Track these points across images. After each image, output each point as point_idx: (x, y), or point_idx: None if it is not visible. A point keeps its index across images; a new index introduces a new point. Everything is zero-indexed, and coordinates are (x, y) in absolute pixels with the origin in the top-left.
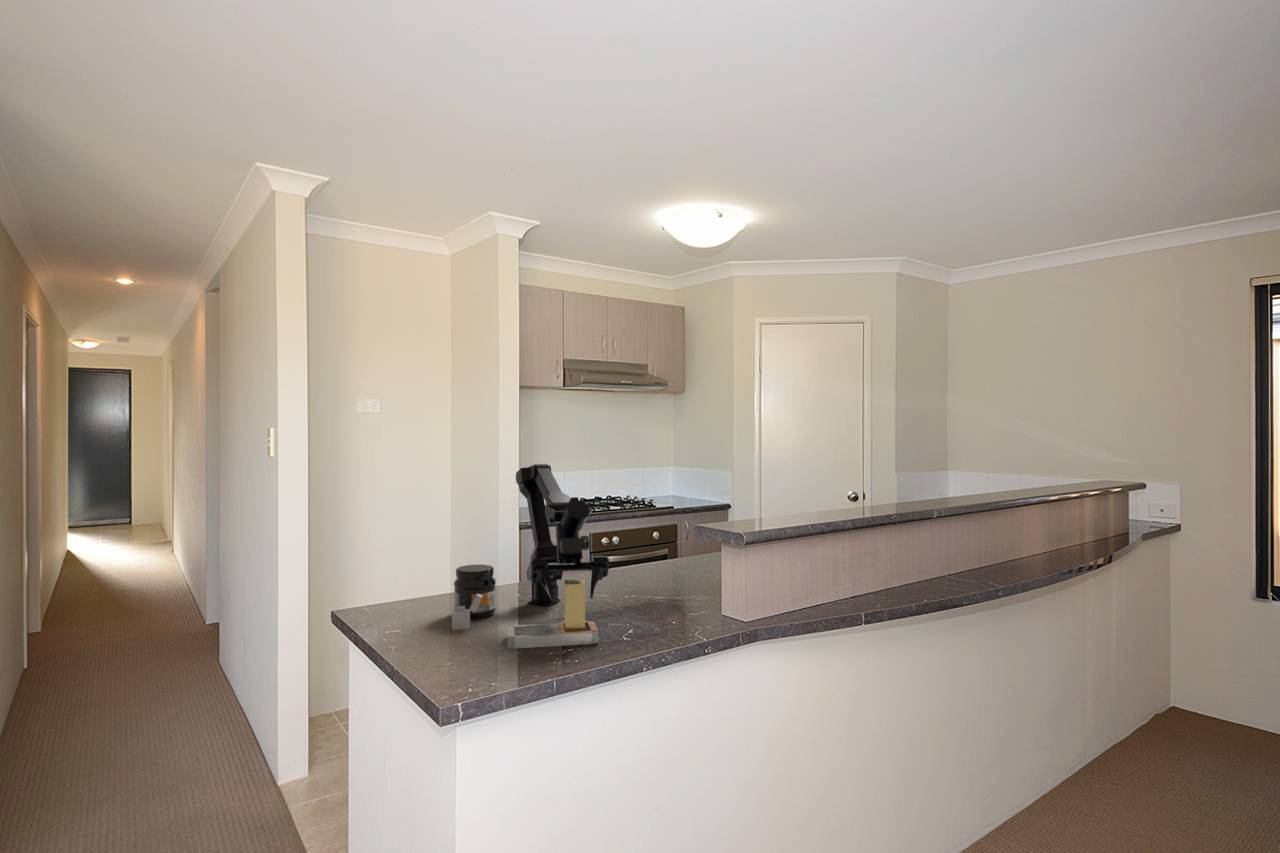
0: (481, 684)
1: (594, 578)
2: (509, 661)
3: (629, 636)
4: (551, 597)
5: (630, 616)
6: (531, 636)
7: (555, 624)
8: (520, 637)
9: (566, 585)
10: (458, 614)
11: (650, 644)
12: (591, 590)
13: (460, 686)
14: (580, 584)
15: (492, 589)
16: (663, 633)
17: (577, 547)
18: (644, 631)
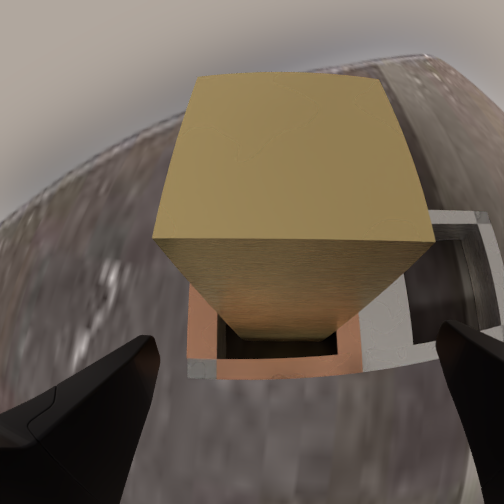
0: (432, 83)
1: (32, 411)
2: (436, 149)
3: (96, 293)
4: (454, 320)
5: None
6: (433, 210)
7: (369, 350)
8: (459, 211)
9: (366, 83)
10: None
11: (78, 215)
12: (124, 355)
13: (454, 88)
14: (240, 74)
15: None
16: (23, 298)
17: None
18: (50, 331)
